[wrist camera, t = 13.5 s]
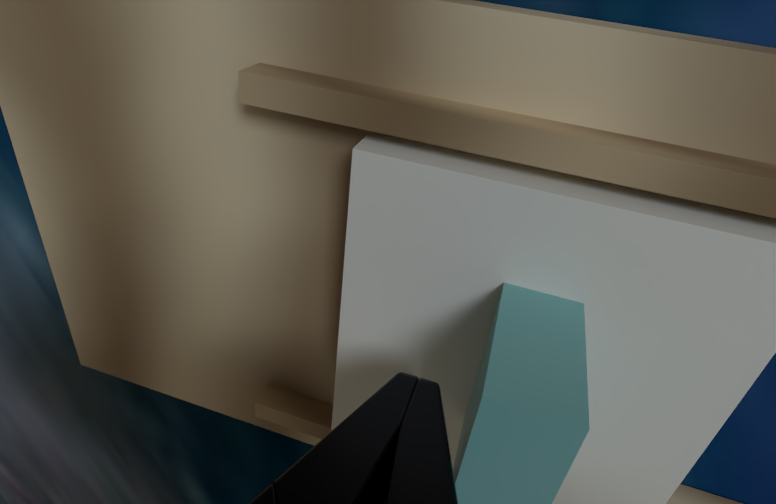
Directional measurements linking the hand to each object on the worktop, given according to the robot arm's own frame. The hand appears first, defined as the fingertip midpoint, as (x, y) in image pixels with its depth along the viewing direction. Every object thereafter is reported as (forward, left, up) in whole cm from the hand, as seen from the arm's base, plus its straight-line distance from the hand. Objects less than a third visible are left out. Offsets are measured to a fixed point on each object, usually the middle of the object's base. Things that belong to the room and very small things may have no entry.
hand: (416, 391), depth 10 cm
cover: (+2, 0, -3) cm, 3 cm away
